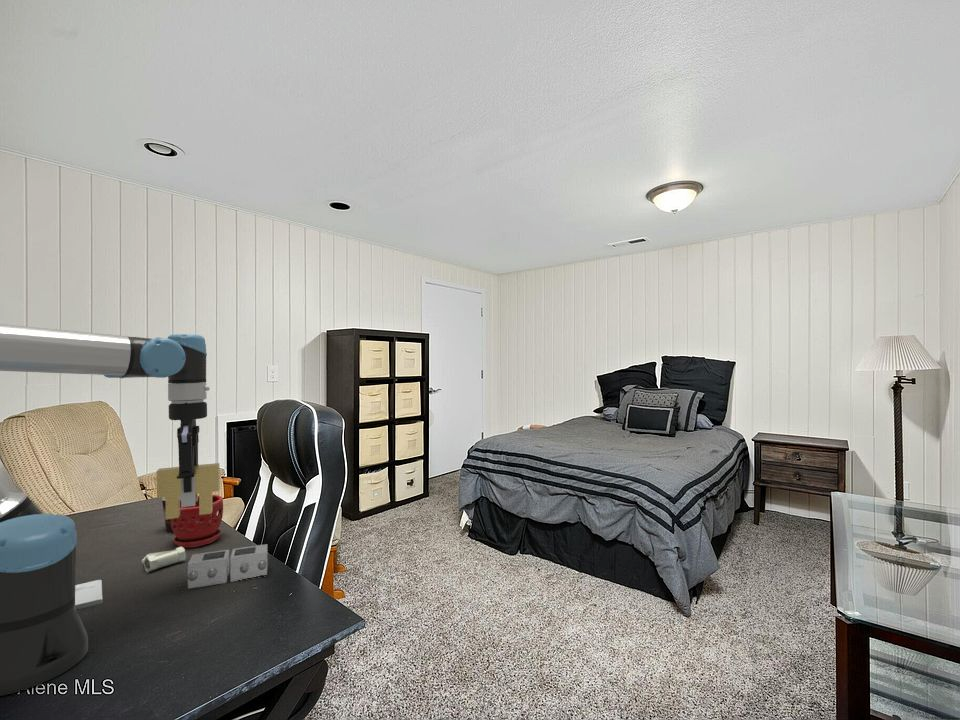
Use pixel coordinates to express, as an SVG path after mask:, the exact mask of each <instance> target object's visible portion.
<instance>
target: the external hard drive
mask: <svg viewBox="0 0 960 720" xmlns="http://www.w3.org/2000/svg"><path fill="white" fill-rule="evenodd" d="M102 582H103V581H102V579H95V580H91V581H88V582H84V583H79V584H75V608H76V610H77V609H78V610H81V608H82V609H85V608H89V607H94V606H97V605H102V604H103V602H104V601H103V583H102ZM78 610H77V611H78Z"/></svg>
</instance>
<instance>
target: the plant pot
mask: <svg viewBox="0 0 960 720" xmlns="http://www.w3.org/2000/svg"><path fill="white" fill-rule="evenodd" d="M212 508H213V511H212V513H211V514H203V515H199V495H198V501H197V502H196V505H195V506H188V507H181V500H180V516H179V518H173V519H170V522H171V527H172V530H173V532H174V533H173V534H174V536H175V537H174V538H173V543H174V544H175V545H176V546H178V547H183V548H184V549H185V548H189V549H190V548H197V547H202V546H205V545H206V544H207V545H210V544H211V543H214V542H215V541H216V540H218V539H219V538H220V536H221V535H222V530H221V529H220V526H221V524H222V520H223V515H224V500H223V496H221V495H219V494H212Z"/></svg>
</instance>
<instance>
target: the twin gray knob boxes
mask: <svg viewBox="0 0 960 720" xmlns="http://www.w3.org/2000/svg"><path fill="white" fill-rule="evenodd" d="M229 575H230V583H233V582H238V580H240V581H243V580H242V579H246V580H248V579H247V578H252V577H256V576H260V575H267V576H268V544H267V543H266V544H257V545H252V546H245V547H238V548H232V551H231V554H230V549H223V550H215V551H209V552H208V551H207V552H202V553H193V554H192V555H191V557H190V559H189V561H188V563H187V589H188V590H190V589H196V588H197V589H198V588H202V587H209V586H215V585H220V584H227V583H228V578H229ZM252 579H253V578H252Z"/></svg>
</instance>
